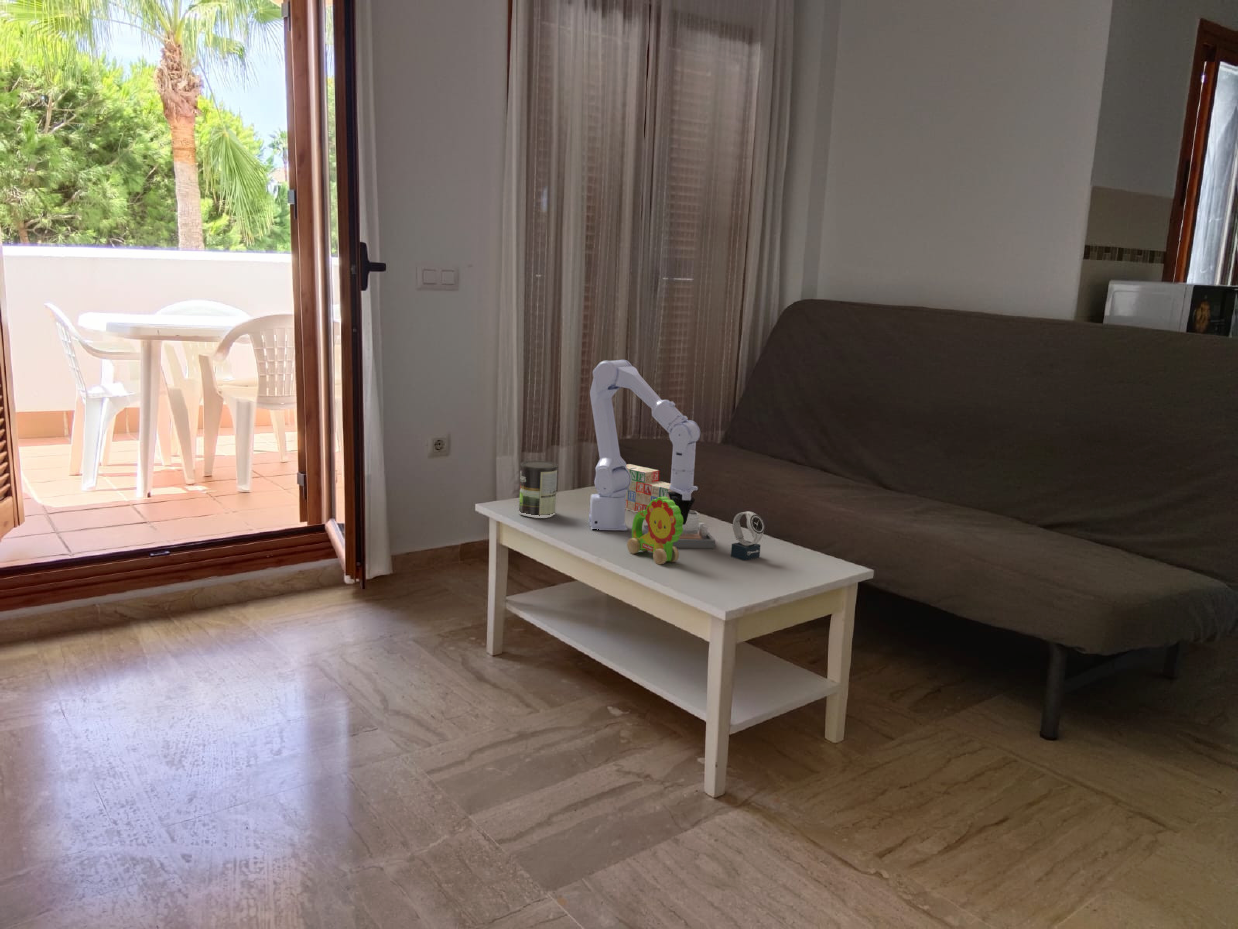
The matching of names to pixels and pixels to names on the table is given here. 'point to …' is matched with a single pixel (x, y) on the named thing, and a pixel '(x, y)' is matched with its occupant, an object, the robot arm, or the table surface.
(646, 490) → the stack of blocks
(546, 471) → the coffee can
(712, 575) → the table surface
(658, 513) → the toy lion
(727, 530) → the table surface
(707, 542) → the tray
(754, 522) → the watch
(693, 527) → the drive
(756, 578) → the table surface
